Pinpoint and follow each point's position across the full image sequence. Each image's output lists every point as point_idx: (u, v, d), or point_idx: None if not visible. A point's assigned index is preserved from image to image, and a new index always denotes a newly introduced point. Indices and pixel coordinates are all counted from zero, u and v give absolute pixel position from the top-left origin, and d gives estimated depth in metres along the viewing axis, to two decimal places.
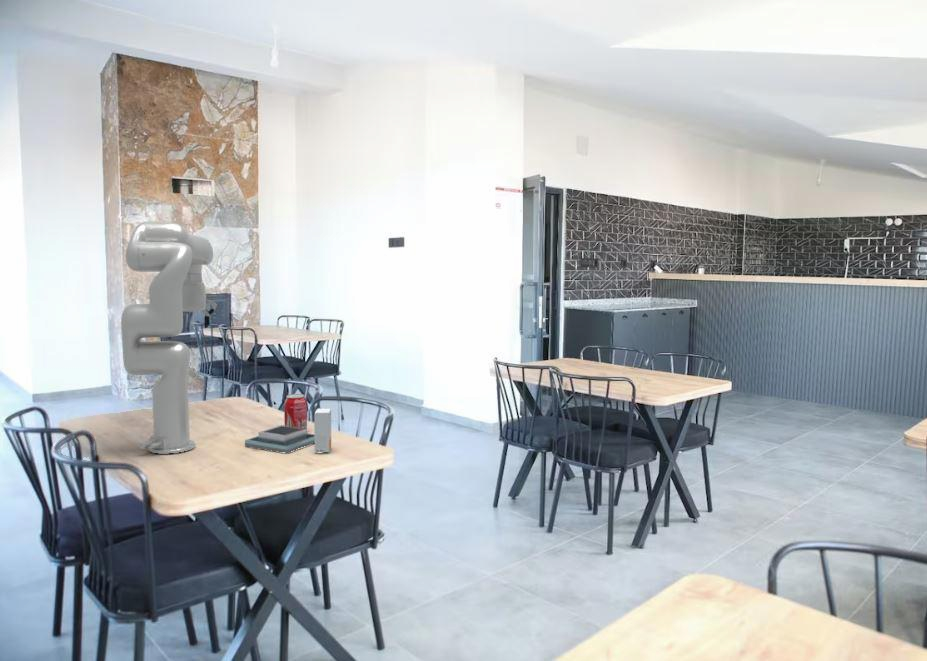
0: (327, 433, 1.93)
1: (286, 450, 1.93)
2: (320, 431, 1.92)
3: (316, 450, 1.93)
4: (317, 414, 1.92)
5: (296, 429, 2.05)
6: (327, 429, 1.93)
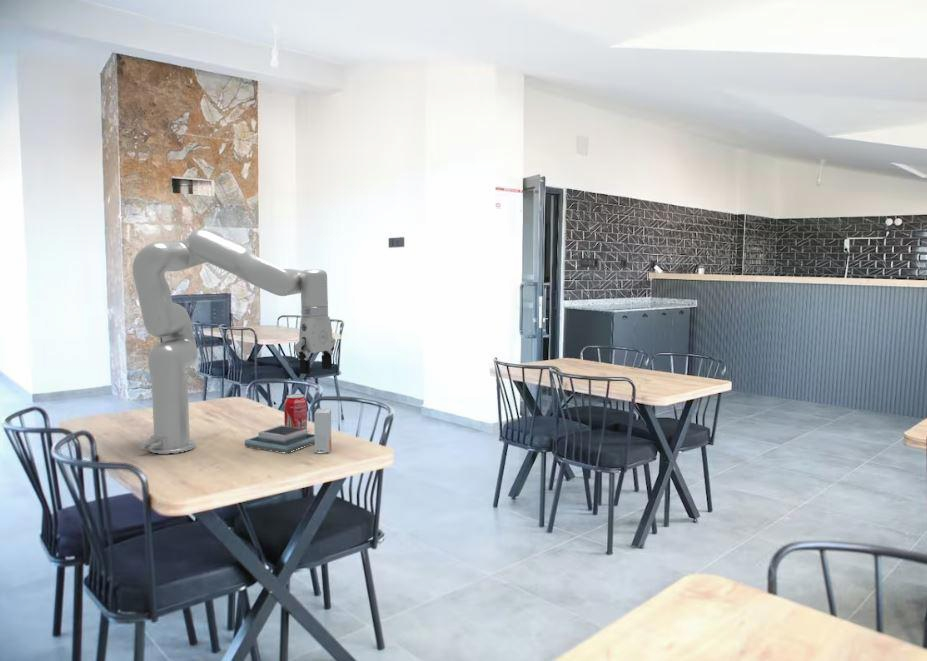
0: (327, 433, 1.93)
1: (286, 450, 1.93)
2: (320, 431, 1.92)
3: (316, 450, 1.93)
4: (317, 414, 1.92)
5: (296, 429, 2.05)
6: (327, 429, 1.93)
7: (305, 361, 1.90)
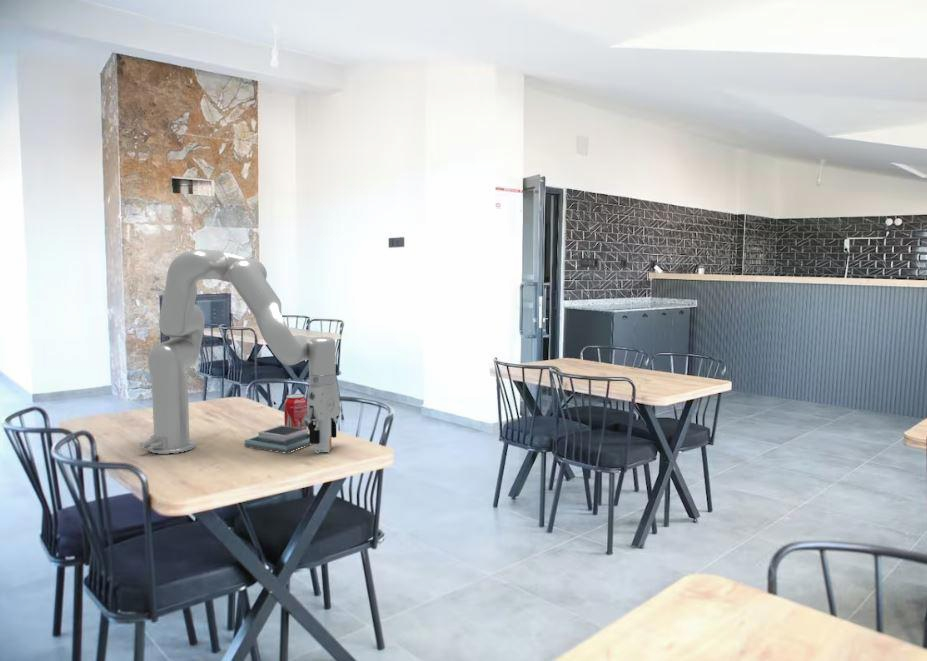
0: (327, 433, 1.93)
1: (286, 450, 1.93)
2: (320, 430, 1.92)
3: (316, 450, 1.93)
4: None
5: (296, 429, 2.05)
6: (327, 429, 1.93)
7: (315, 431, 1.91)
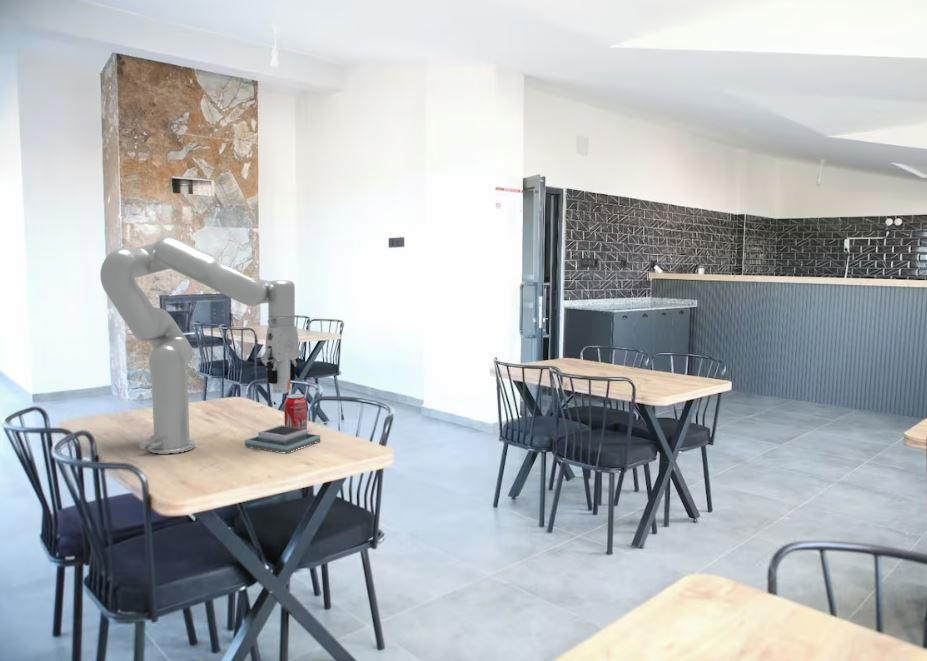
0: (285, 373, 1.97)
1: (286, 450, 1.93)
2: (278, 371, 1.97)
3: (274, 390, 1.98)
4: None
5: (296, 429, 2.05)
6: (285, 370, 1.97)
7: (272, 371, 1.96)
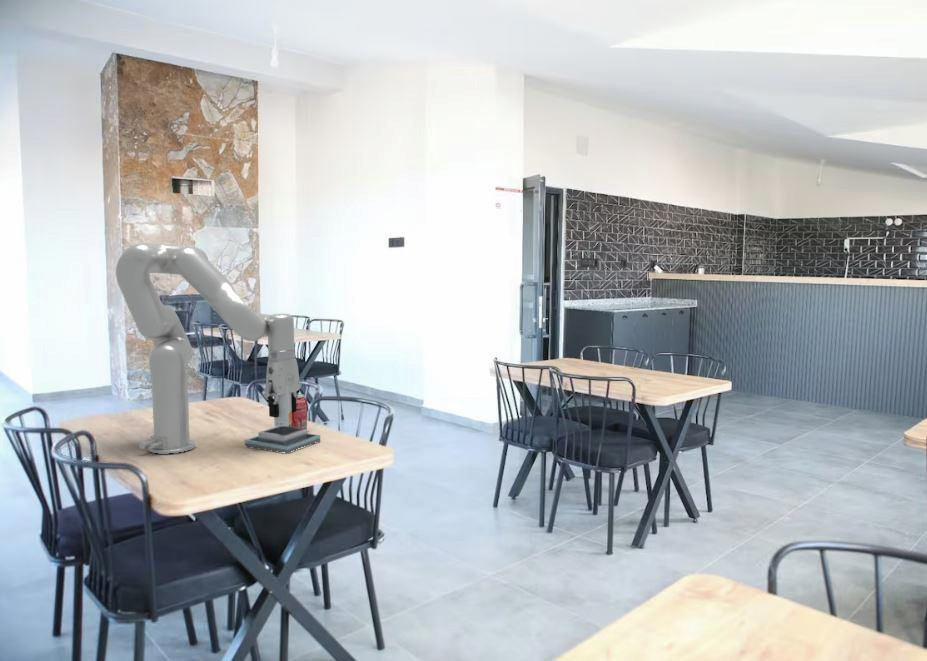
0: (286, 407, 1.99)
1: (286, 450, 1.93)
2: (279, 404, 1.98)
3: (276, 423, 1.99)
4: None
5: (296, 429, 2.05)
6: (286, 403, 1.99)
7: (274, 405, 1.97)
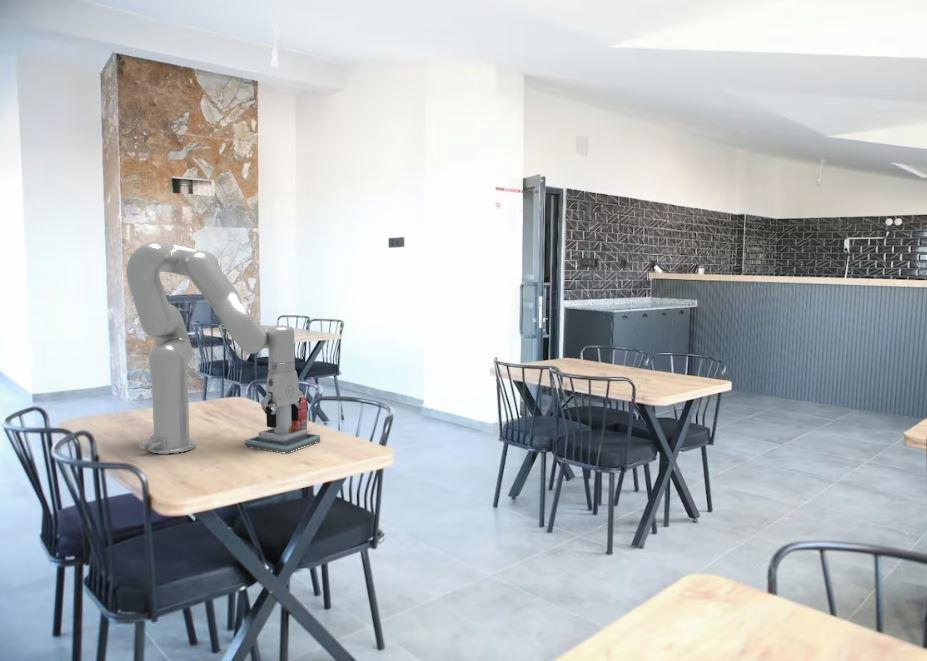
0: (286, 423, 1.99)
1: (286, 450, 1.93)
2: (279, 420, 1.99)
3: None
4: None
5: (296, 429, 2.05)
6: (286, 419, 1.99)
7: (271, 415, 1.96)
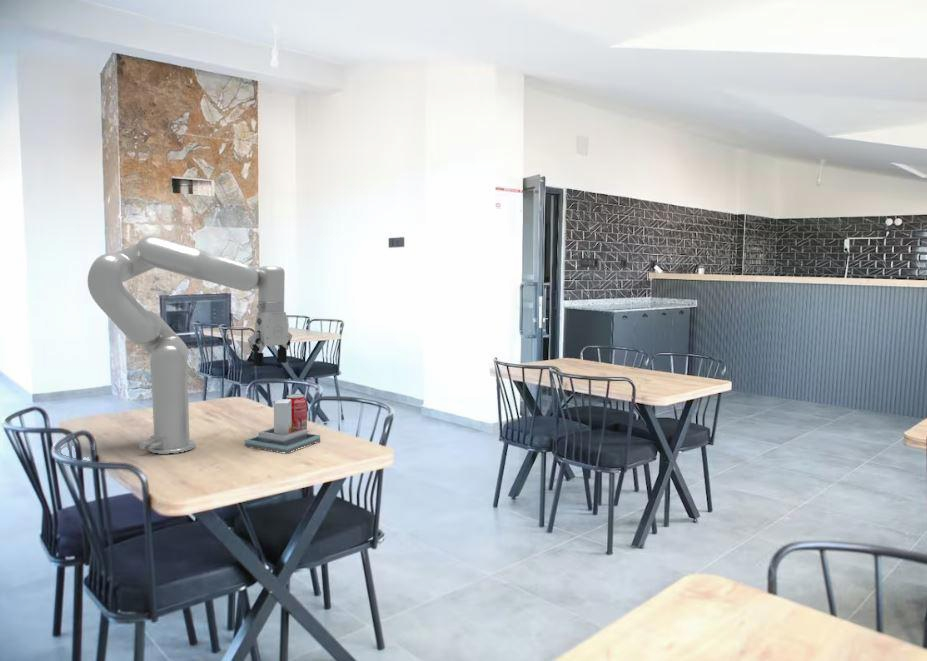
0: (286, 423, 1.99)
1: (286, 450, 1.93)
2: (279, 420, 1.99)
3: None
4: (276, 404, 1.99)
5: (296, 429, 2.05)
6: (286, 419, 1.99)
7: (259, 354, 1.98)
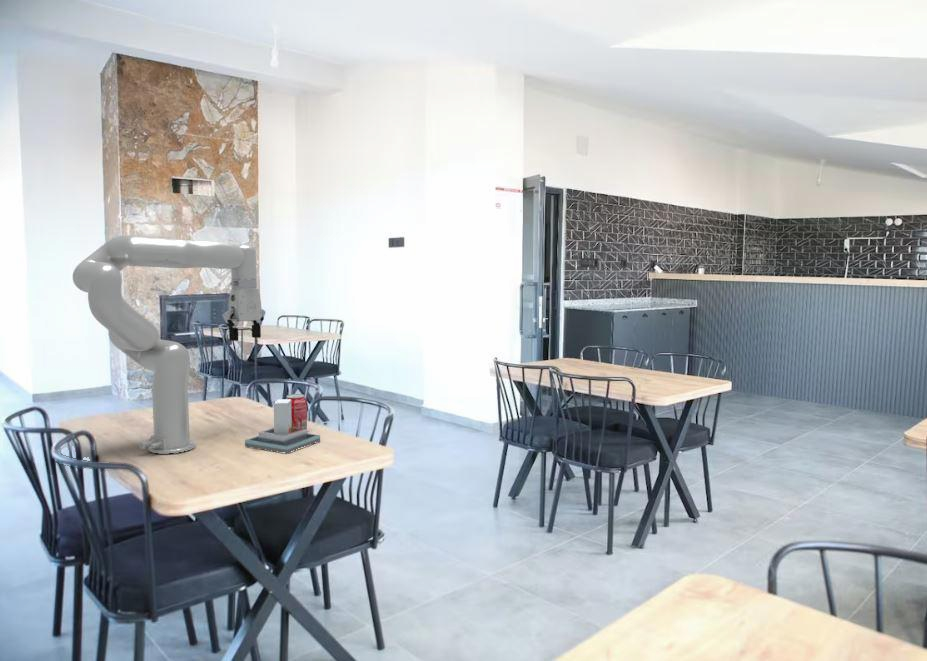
0: (286, 423, 1.99)
1: (286, 450, 1.93)
2: (279, 420, 1.99)
3: None
4: (276, 404, 1.99)
5: (296, 429, 2.05)
6: (286, 419, 1.99)
7: (233, 329, 2.07)
